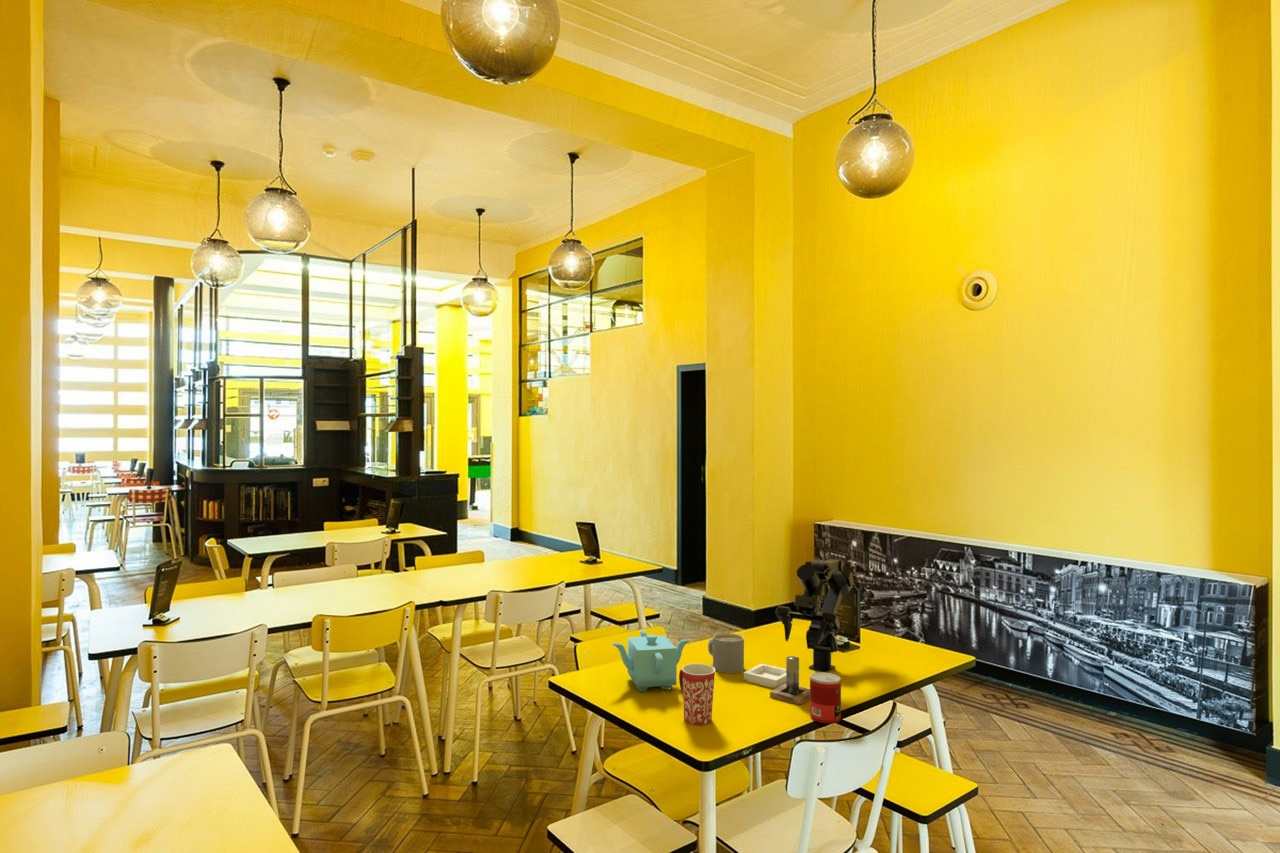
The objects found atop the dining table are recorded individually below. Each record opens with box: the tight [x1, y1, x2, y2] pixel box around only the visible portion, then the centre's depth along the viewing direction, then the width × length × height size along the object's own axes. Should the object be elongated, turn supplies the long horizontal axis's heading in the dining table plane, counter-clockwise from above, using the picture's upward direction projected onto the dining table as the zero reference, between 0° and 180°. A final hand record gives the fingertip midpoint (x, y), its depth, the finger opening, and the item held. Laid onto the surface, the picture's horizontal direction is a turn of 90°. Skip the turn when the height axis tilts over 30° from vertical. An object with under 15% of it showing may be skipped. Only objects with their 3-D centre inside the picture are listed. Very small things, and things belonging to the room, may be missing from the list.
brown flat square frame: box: [769, 683, 810, 706], centre depth 202 cm, size 9×9×2 cm
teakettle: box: [610, 629, 692, 692], centre depth 211 cm, size 19×19×15 cm
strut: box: [785, 655, 800, 696], centre depth 202 cm, size 4×4×11 cm
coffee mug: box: [707, 632, 745, 674], centre depth 228 cm, size 13×10×10 cm
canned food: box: [809, 671, 842, 725], centre depth 186 cm, size 8×8×11 cm
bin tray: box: [743, 663, 786, 689], centre depth 216 cm, size 11×11×2 cm
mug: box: [678, 662, 717, 726], centre depth 186 cm, size 13×9×14 cm
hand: (801, 643), depth 209 cm, fingers open, 9 cm apart
